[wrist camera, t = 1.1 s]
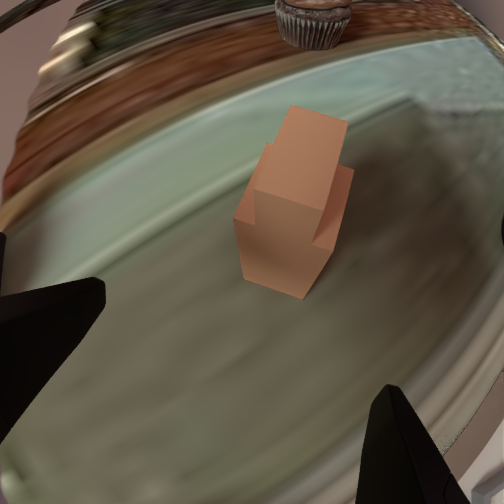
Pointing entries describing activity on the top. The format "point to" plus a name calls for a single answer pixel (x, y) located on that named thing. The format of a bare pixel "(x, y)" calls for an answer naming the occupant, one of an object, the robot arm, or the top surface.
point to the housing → (482, 451)
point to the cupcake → (312, 22)
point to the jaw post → (294, 204)
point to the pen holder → (503, 231)
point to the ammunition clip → (2, 252)
